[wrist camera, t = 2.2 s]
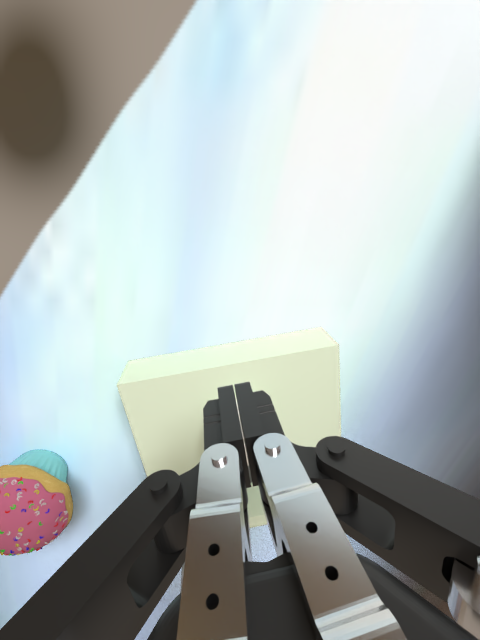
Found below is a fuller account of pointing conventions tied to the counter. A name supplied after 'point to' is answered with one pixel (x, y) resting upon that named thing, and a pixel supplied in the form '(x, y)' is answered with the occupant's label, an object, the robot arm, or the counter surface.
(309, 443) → the board
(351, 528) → the robot arm
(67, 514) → the cupcake
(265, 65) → the counter surface
